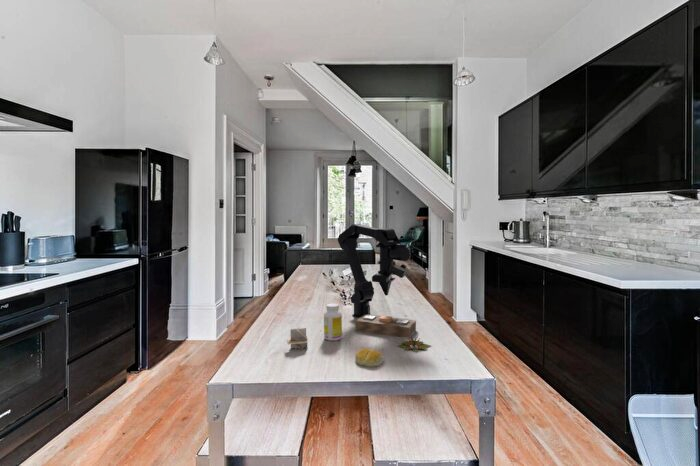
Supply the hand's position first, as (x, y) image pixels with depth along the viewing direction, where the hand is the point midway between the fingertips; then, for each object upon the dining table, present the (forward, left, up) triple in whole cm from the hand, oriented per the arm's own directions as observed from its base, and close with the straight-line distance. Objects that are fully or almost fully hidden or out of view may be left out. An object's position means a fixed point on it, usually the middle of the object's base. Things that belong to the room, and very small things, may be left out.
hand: (386, 295), depth 164 cm
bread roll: (+9, -40, -12) cm, 43 cm away
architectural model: (-18, -40, -13) cm, 46 cm away
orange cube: (+3, -9, -11) cm, 14 cm away
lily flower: (+18, -21, -13) cm, 31 cm away
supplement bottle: (-12, -26, -12) cm, 31 cm away
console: (+3, -9, -12) cm, 15 cm away
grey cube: (-4, -9, -11) cm, 15 cm away
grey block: (+10, -9, -11) cm, 17 cm away
